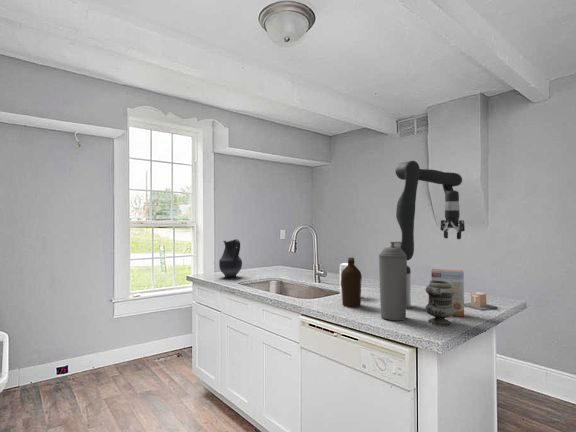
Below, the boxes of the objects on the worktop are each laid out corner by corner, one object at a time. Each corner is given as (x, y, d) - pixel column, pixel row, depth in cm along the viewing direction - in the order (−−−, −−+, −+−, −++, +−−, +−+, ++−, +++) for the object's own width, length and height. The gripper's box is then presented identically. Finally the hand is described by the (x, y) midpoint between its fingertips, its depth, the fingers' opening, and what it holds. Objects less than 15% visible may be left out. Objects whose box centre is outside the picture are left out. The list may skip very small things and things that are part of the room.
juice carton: (344, 294, 217) (344, 262, 217) (357, 295, 212) (357, 263, 212) (338, 296, 211) (338, 263, 211) (351, 298, 206) (351, 264, 206)
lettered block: (479, 307, 182) (479, 294, 182) (470, 304, 186) (470, 292, 186) (486, 305, 184) (486, 293, 184) (477, 303, 189) (477, 291, 189)
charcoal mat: (481, 310, 177) (481, 309, 177) (460, 305, 188) (460, 304, 188) (497, 307, 183) (497, 306, 183) (476, 302, 193) (476, 301, 193)
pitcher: (234, 275, 291) (234, 237, 291) (249, 278, 275) (248, 239, 275) (215, 277, 280) (214, 238, 280) (229, 281, 264) (228, 240, 264)
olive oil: (343, 308, 185) (343, 259, 185) (339, 303, 195) (339, 256, 195) (364, 307, 185) (363, 258, 185) (359, 302, 195) (358, 256, 196)
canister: (396, 313, 174) (395, 240, 174) (413, 320, 162) (413, 242, 162) (373, 315, 170) (372, 241, 170) (389, 323, 158) (388, 243, 158)
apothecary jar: (440, 328, 150) (440, 285, 150) (419, 320, 161) (419, 280, 161) (461, 324, 155) (461, 282, 155) (439, 317, 166) (439, 278, 166)
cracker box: (464, 314, 172) (463, 270, 172) (464, 317, 166) (463, 271, 166) (432, 311, 178) (432, 268, 178) (431, 314, 172) (431, 270, 172)
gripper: (437, 209, 207) (437, 238, 207) (458, 209, 194) (458, 239, 194) (446, 209, 210) (446, 237, 210) (467, 209, 197) (468, 239, 197)
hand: (452, 238), depth 202 cm, fingers open, 8 cm apart
